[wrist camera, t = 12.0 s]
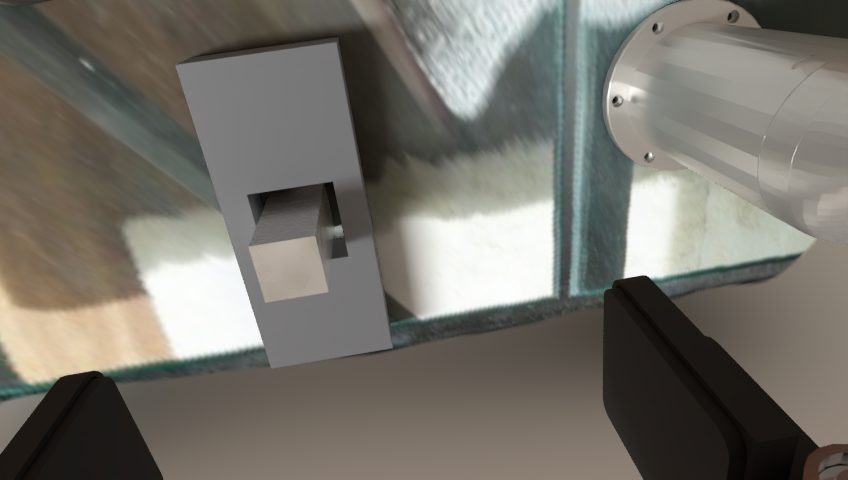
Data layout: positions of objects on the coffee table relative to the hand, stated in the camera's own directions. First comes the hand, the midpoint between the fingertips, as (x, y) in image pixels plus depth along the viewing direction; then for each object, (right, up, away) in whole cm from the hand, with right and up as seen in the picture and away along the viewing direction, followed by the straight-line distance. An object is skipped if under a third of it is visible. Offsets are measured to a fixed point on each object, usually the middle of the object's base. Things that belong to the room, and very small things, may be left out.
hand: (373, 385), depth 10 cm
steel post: (-8, +5, +32) cm, 33 cm away
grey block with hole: (-8, +5, +32) cm, 33 cm away
